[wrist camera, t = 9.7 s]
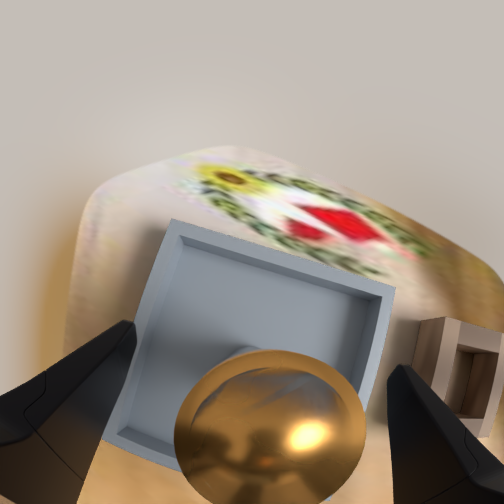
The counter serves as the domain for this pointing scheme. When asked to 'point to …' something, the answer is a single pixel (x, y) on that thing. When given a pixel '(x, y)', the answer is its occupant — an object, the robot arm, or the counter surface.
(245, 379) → the steel pin
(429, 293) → the counter surface
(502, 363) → the collar block
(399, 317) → the counter surface
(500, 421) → the counter surface
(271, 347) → the tray
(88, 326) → the counter surface
